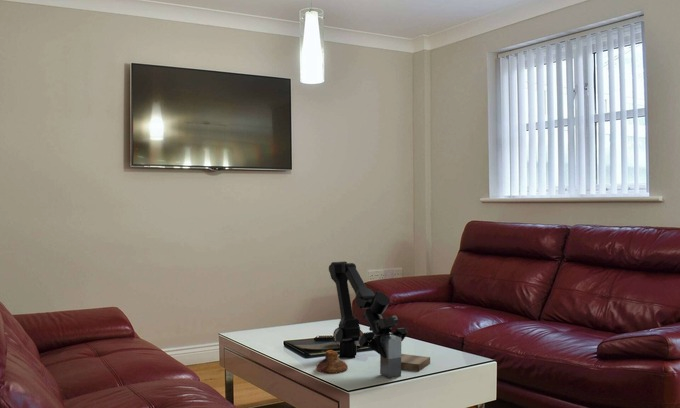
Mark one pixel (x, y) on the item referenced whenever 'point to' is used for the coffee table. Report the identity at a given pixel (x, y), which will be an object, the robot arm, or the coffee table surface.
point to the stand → (414, 362)
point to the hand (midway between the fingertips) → (392, 356)
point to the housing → (391, 356)
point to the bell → (331, 364)
